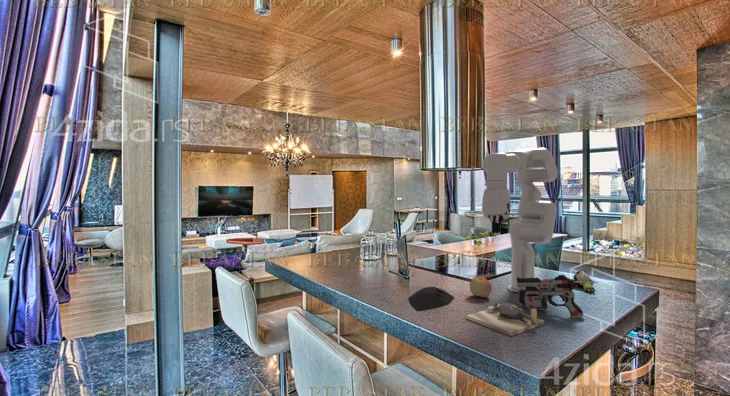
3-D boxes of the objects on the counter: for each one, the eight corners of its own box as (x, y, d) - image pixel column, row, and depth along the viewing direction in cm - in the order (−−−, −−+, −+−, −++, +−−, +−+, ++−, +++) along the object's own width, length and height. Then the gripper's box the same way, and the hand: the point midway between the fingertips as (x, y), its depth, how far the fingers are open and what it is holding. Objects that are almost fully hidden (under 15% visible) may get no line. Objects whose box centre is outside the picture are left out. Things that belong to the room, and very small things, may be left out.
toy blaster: (523, 313, 140) (516, 275, 141) (584, 316, 127) (576, 273, 128) (520, 316, 137) (513, 277, 138) (583, 319, 124) (574, 275, 125)
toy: (579, 285, 156) (568, 267, 169) (577, 299, 158) (566, 280, 172) (606, 286, 153) (592, 268, 167) (603, 300, 156) (590, 281, 170)
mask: (395, 297, 137) (420, 279, 163) (395, 309, 137) (420, 289, 164) (440, 304, 129) (458, 284, 156) (440, 317, 129) (458, 294, 156)
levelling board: (498, 309, 136) (498, 298, 135) (543, 324, 120) (544, 312, 120) (466, 318, 126) (466, 306, 126) (511, 336, 111) (511, 322, 111)
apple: (476, 292, 157) (476, 274, 157) (495, 297, 151) (495, 278, 151) (465, 296, 151) (465, 278, 151) (485, 301, 145) (485, 282, 145)
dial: (494, 312, 127) (494, 298, 127) (511, 309, 130) (511, 296, 130) (526, 327, 114) (527, 311, 114) (544, 323, 117) (545, 308, 117)
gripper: (474, 185, 141) (474, 231, 141) (507, 185, 128) (507, 235, 129) (486, 185, 145) (486, 230, 145) (520, 185, 132) (519, 234, 133)
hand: (496, 232), depth 137 cm, fingers closed
